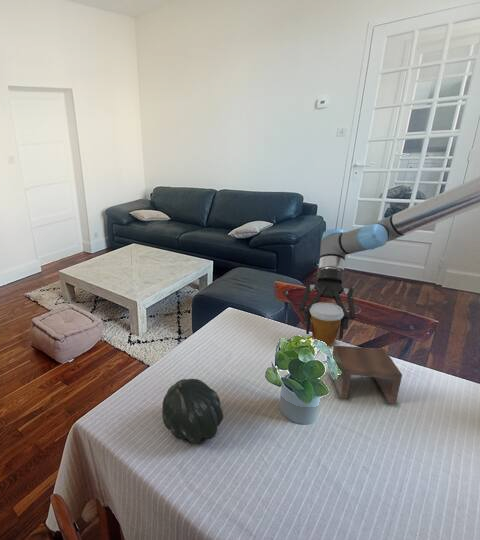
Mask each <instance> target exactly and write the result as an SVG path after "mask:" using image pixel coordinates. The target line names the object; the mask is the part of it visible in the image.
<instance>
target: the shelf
mask: <svg viewBox="0 0 480 540" xmlns="http://www.w3.org/2000/svg"><path fill="white" fill-rule="evenodd" d="M332 349H333V350H332V354H331V357H332V356H333V359H334V360H335V362H336V364H337V366H338V368H339V369H340V370H341V371H342V374H341V375H338V377H337V379H333V378H332V379H333V382H334V385H335V387H336V390H337V392H338V395H339V397H340V399H348V397H349V390H350V384H351V379H352V378H351V377H352V376H357V377H369V378H374V381H375V382H376V384H377V385H378V387H379V389H380V391H381V393H382V394H383V396H384V398H385V399H386V401H387V403H388V404H392V405H396V404H397V400H398V395H399V393H400V392H399V391H400V386H401V383H402V378H403V374H402V372H401V370H400V369H399V368H398V366H397V365H396V364H395V362H394V361H393V359H392V358H391V356H390V354H389V353H388V352H387V350H386V349H385V348H377V347H362V346H361V347H360V346H347V345H333V348H332Z"/></svg>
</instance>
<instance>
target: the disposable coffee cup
mask: <svg viewBox="0 0 480 540" xmlns="http://www.w3.org/2000/svg"><path fill="white" fill-rule="evenodd" d="M310 313H311V321H310V322H311V336H312V339H313V338H314V339H317V340H320V341H323V342H325V343H326V344H327V345H328V346H332V345H333V346H334V344H335V342H336V339H337V336H338V332H339V330H340V324H341V319H342V318H343V316H344V312H343V310H342V308H341V307H339V306H338V305H337V304H335V303H331V302H322V301H321V302H317V303H315V304H313V305H312V307H311V308H310ZM328 346H327V347H328Z"/></svg>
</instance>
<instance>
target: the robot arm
mask: <svg viewBox="0 0 480 540" xmlns="http://www.w3.org/2000/svg"><path fill="white" fill-rule="evenodd" d="M479 207H480V176H477V177H474V178H472V179H470V180H468V181H465V182H464V183H461V184H459V185H457V186H455V187H453V188H450V189H448V190H446V191H444V192H441V193H439V194H436V195H434V196H432V197H430V198H427V199H426V200H423V201H420V202H419V203H416V204H414V205H412V206H409V207H407V208H405V209H403V210H401V211H398V212H396V213H394V214H392V215H389V216H387V217H385V218H383V219H381V220H377V221H375V222H373V223H370V224H367V225H364V226H361V227H358V228H355V229H351V230H349V231H345V230H344V229H341V228H328V229H326V230H325V231H324V232H323V233H322V236H321V240H320V251H319V252H320V253H319V259H318V266H317V270H318V271H317V275H316V282H315V283H314V284H310V283H306V284H305V292H304V294H303V297H302V300H301V302H300V304H299V307H298V311H299V312H300V313H303V323H304V324H306V332H305V334H306V335H310V327H311V322H312V321H311V313H310V308H311V307H312V305H313V304H315V303H319V301H320V300H321V299H323V298H324V299H327V298H328V299H333V300H334V302H335V303H336V305H338V306H339V307H341V308H342V310H343V312H344V316H343V317H342V319H341V322H340V325H339V336H338V340H341V341H342V340H343V337H344V330H348V328H349V321H350V320H355V319H356V316H357V314H356V308H355V303H354V298H353V297H354V296H353V294H354V288H352V287H349V288H347V287H344V284H343V283H344V272H345V263H346V256H347V255H352V254H355V253H356V254H357V253H360V252H364V251H369V250H375V249H377V248H381V247H384V246H385V245H386V244H387V243H389V242H391V241H394V240H397V239H398V238H401V237H405V236H406V235H409V234H411V233H414V232H417V231H419V230H422V229H424V228H427V227H430V226H432V225H435V224H438V223H440V222H443V221H446V220H448V219H451V218H454V217H456V216H459V215H462V214H464V213H467V212H469V211H472V210H474V209H478V208H479ZM314 289H315V291H316V292H317V293H316V295H314V297H313V299H311V301H310V302H309V304H308V306H307V307H306V304H307V303H308V300H309V298H310V294H311V292H312V291H313V290H314ZM343 292H344V295H346V300H347V306H348V312H349V313H348V312H347V309H346V307H345V305H344V302H343V300H342V299H341V296H340V295H341V294H342V293H343ZM351 297H352V298H351ZM305 307H306V308H305Z"/></svg>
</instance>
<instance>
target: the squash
mask: <svg viewBox="0 0 480 540" xmlns="http://www.w3.org/2000/svg"><path fill="white" fill-rule="evenodd" d="M161 406H162V411H161V412H162V413H161V415H162V416H161V417H162V421H163V422H162V423H163V424H164V427H166V429H167V430H169V431H170V432H171V434H172V435H173V437H174V438H176V439H179V440H183V439H187V440H188V441H189V442H191V443H192V444H199V443H200V442H201V440H202V439H204V440H212V439H214V438H215V437H216V435H217V434H218V433H217V432H218V427H219V426H220V425H221V423H222V421H223V419H224V413H223V408H222V407H221V400H220V397H219V395H218V394H217V392H216V391H215V389H213V388H210V385H208V384H206V383H205V382H204V381H203V380H201V379H199V378H198V379H197V378H183V379H179V380H178V381H176V382H175V383H174V384H172V385H171V386H170V387H169V388H168V390H167V391H166V394H165V396H164V397H163V400H162V405H161Z"/></svg>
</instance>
